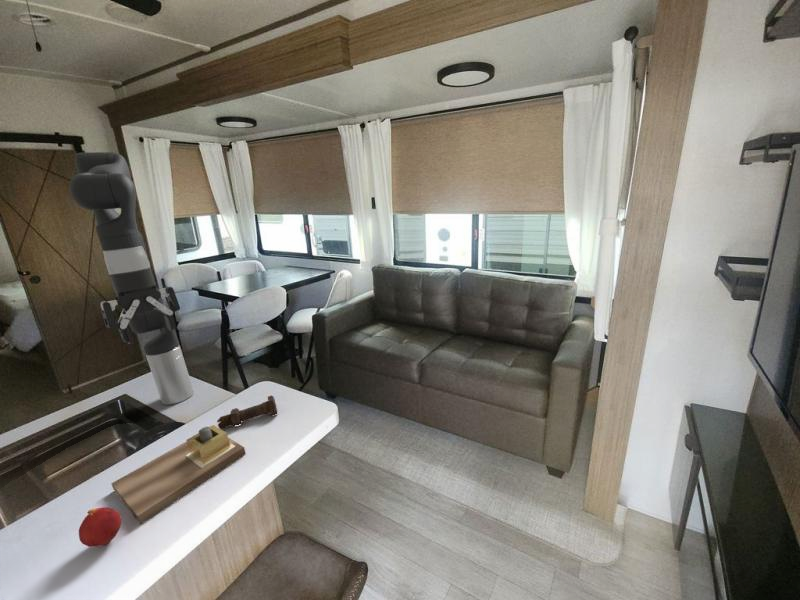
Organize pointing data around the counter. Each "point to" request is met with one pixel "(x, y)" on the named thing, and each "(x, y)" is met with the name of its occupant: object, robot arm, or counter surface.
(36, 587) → the counter surface
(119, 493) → the post board
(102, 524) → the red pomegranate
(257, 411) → the bolt
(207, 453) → the collar
